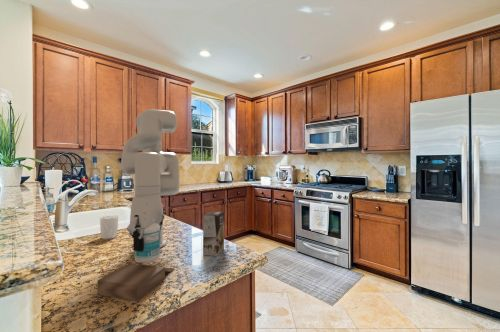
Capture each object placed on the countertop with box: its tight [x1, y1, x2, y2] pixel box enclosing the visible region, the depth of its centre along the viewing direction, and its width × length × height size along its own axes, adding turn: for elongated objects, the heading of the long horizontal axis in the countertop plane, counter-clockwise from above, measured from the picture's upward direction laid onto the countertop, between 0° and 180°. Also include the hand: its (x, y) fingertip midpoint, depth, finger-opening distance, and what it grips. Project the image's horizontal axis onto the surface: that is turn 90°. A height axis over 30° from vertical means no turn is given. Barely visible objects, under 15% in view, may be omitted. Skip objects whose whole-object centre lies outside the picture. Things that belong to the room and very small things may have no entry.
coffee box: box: [202, 210, 225, 257], centre depth 99 cm, size 9×6×16 cm
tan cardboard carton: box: [97, 262, 175, 302], centre depth 74 cm, size 13×20×5 cm, turn 166°
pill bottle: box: [134, 219, 161, 264], centre depth 76 cm, size 8×7×14 cm
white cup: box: [99, 214, 119, 240], centre depth 118 cm, size 8×8×10 cm
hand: (147, 245), depth 76 cm, fingers closed on pill bottle, 7 cm apart
